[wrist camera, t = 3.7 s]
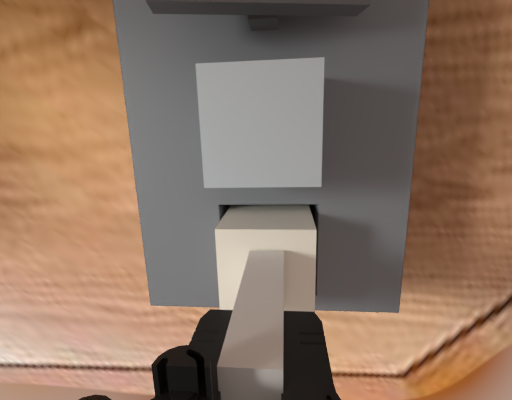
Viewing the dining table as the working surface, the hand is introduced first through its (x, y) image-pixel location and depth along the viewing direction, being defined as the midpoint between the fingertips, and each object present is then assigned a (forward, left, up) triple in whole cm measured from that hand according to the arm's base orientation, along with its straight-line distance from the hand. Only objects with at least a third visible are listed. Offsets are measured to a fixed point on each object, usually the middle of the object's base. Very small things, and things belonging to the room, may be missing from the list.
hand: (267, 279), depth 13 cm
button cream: (0, 0, -6) cm, 6 cm away
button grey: (0, +7, -5) cm, 8 cm away
